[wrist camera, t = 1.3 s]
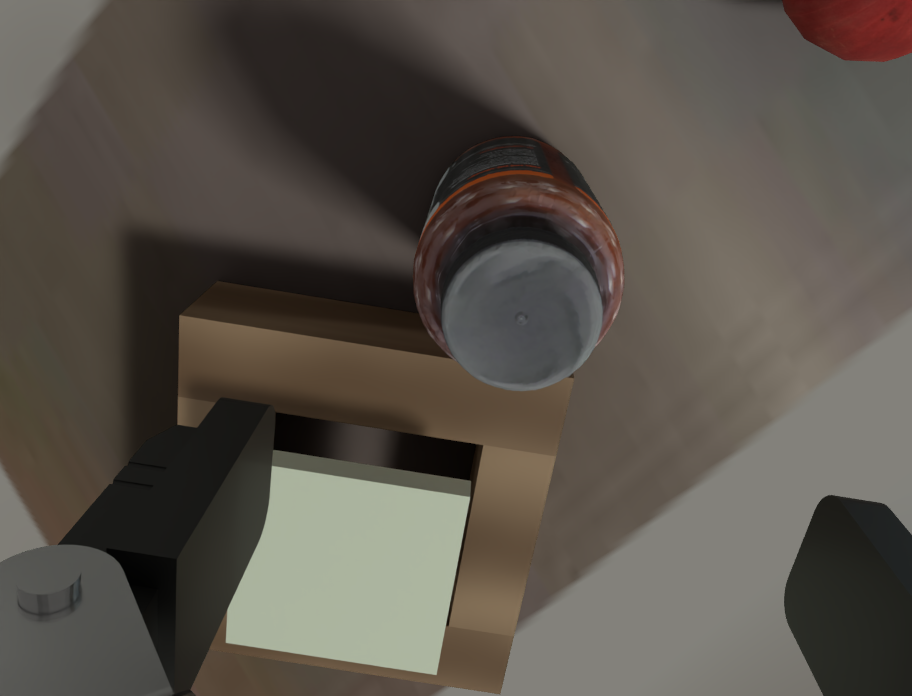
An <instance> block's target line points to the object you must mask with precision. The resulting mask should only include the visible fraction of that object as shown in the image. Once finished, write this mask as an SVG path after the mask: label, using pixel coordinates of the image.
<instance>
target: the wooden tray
mask: <svg viewBox="0 0 912 696" xmlns="http://www.w3.org/2000/svg"><path fill="white" fill-rule="evenodd" d="M573 382H574V375H573V373H572V374H571V375H570V376H569V377H567V378H564V379H562V380H561V381H559V382H557V383H555V384H552V385H550V386H548V387H544V388H542V389H537V390H529V391H512V390H505V389H502V388H497V387H494V386H491V385H488V384H485V383H483V382H482V381H480V380H478V379H476V378H474V377H473V376H472V375H471V374H469V373H468V372H467V371H466V370H465V369H464V368H463V367H462V366H461V365H460V364H459V363H458V362H456V361H455V360H453V359H452V358H451V357H450V356H448V355H447V354H446V353H445V352H444V351H443V350H442V349H441V347H440V346H439V345H438V344H437V343H436V342H435V341H434V339H433V338H432V337H431V336H430V335H429V334H428V332H427V329H426V328H425V326H424V324H423V323H422V319H421V317H420V314H419V313H413V312H407V311H400V310H394V309H388V308H382V307H375V306H369V305H363V304H357V303H351V302H344V301H338V300H332V299H326V298H320V297H313V296H307V295H301V294H295V293H289V292H282V291H276V290H270V289H264V288H257V287H251V286H245V285H239V284H233V283H226V282H220V281H217V282H216V283H215V284H214V285H212V286H211V287H210V288H209V289H208V290H207V291H206V292H205V293H204V294H202V295H201V296H200V297H199V298H198V299H197V300H196V301H195V302H194V303H192V304H191V305H190V306H189V307H188V308H187V309H186V310H185V311H184V312H182V313H181V314H180V315H179V368H178V425H183V426H189V427H195V428H197V427H198V426H199V424H200V423H201V422H202V421H203V419H204V418H205V417H206V415H207V414H208V413H209V411H210V410H211V409H212V407H213V406H214V405H215V403H216V402H217V401H218V400H219V399H220V398H221V397H225V398H231V399H238V400H244V401H250V402H256V403H263V404H269V405H273V406H274V409H275V421H276V412H278V413H284V414H291V415H297V416H303V417H310V418H316V419H322V420H328V421H335V422H341V423H347V424H354V425H360V426H366V427H373V428H379V429H385V430H392V431H398V432H404V433H410V434H417V435H423V436H429V437H436V438H442V439H448V440H455V441H461V442H467V443H474V444H476V447H475V452H474V458H473V463H472V468H471V474H470V479H469V481H471V492H470V501H469V506H468V511H467V517H466V522H465V527H464V532H463V538H462V543H461V548H460V553H459V559H458V564H457V569H456V575H455V580H454V585H453V590H452V596H451V601H450V606H449V611H448V617H447V622H446V627H445V632H444V638H443V643H442V648H441V654H440V659H439V664H438V669H437V675H432V674H426V673H419V672H413V671H406V670H400V669H393V668H387V667H380V666H374V665H367V664H361V663H354V662H348V661H341V660H335V659H328V658H322V657H315V656H309V655H302V654H296V653H289V652H283V651H276V650H270V649H263V648H257V647H250V646H244V645H237V644H231V643H226V628H227V612H226V614H225V616H224V618H223V620H222V622H221V624H220V627H219V629H218V631H217V633H216V635H215V637H214V640H213V642H212V644H211V646H210V648H209V650H215V651H222V652H228V653H235V654H241V655H248V656H254V657H261V658H267V659H274V660H280V661H287V662H293V663H300V664H306V665H313V666H319V667H326V668H332V669H339V670H345V671H352V672H358V673H365V674H371V675H378V676H385V677H391V678H398V679H404V680H411V681H417V682H424V683H430V684H437V685H443V686H450V687H456V688H463V689H469V690H476V691H482V692H489V693H495V694H500V693H501V688H502V684H503V680H504V676H505V671H506V667H507V663H508V659H509V654H510V650H511V646H512V642H513V637H514V633H515V629H516V625H517V620H518V616H519V612H520V608H521V603H522V599H523V595H524V591H525V586H526V582H527V578H528V574H529V569H530V565H531V561H532V557H533V552H534V548H535V544H536V540H537V535H538V531H539V527H540V522H541V518H542V514H543V510H544V505H545V501H546V497H547V493H548V488H549V484H550V480H551V476H552V471H553V467H554V463H555V459H556V454H557V450H558V446H559V442H560V437H561V433H562V429H563V425H564V420H565V416H566V412H567V408H568V403H569V399H570V395H571V390H572V386H573ZM274 435H275V430H274ZM273 449H274V444H273Z"/></svg>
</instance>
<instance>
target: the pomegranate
mask: <svg viewBox="0 0 912 696" xmlns="http://www.w3.org/2000/svg"><path fill="white" fill-rule="evenodd" d="M782 1H783V6H784V10H785V12H786V14H787V15H788V16H789V18H790V19H791V21H792V22H793V23H794V25H795V26H796V27H797V29H798V30H799V32H800V33H801V34H802V36H803V37H804V39H806V40H808V41H809V42H811V43H813V44H815V45H817V46H819V47H821V48H823V49H824V50H826V51H828V52H830V53H832V54H834V55H836V56H838V57H839V58H841V59H843V60H852V61H879V62H885V61H888V60H892V59H896V58H899V57H901V56H904V55H906V54H909V53H912V0H782Z"/></svg>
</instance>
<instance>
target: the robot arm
mask: <svg viewBox="0 0 912 696" xmlns="http://www.w3.org/2000/svg"><path fill="white" fill-rule="evenodd" d="M274 430H275V409H274V406H273V405H269V404H263V403H256V402H250V401H244V400H238V399H231V398H225V397H221V398H220V399H219V400H218V401H217V402H216V403H215V405H214V406H213V407H212V409H211V410H210V411H209V413H208V414H207V415H206V417H205V418H204V419H203V421H202V422H201V423H200V424H199V426H198V427H197V428H195V427H189V426H183V425H175V426H173V427H171V428H170V429H168V430H166V431H164V432H162V433H160V434H158V435H156V436H154V437H152V438H150V439H149V440H147V441H146V442H145V443H144V444H143V445H142V447H141V448H140V449H139V450H138V451H137V452H136V454H135V455H134V456H133V457H132V458H131V459H130V461H129V464H128V466H125V467H124V468H123V469H122V470H121V471H120V472H119V474H118V475H117V476H116V477H115V478H114V480H113V484H109V485H108V486H107V488H106V489H105V490H104V491H103V492H102V493H101V495H100V496H99V497H98V498H97V499H96V500H95V502H94V503H93V504H92V505H91V506H90V508H89V509H88V510H87V511H86V512H85V513H84V515H83V516H82V517H81V518H80V519H79V520H78V522H77V523H76V524H75V525H74V526H73V527H72V529H71V530H70V531H69V532H68V533H67V534H66V536H65V537H64V538H63V539H62V540H61V541H60V543H59V544H58V545H53V546H46V547H40V548H36V549H33V550H29V551H25V552H22V553H20V554H17V555H15V556H12V557H10V558H8V559H6V560H4V561H2V562H0V696H196V695H195V694H194V693H193V692H192V691H191V690H190V689H191V687H192V685H193V683H194V681H195V678H196V676H197V674H198V672H199V670H200V668H201V665H202V663H203V661H204V659H205V657H206V655H207V653H208V650H209V648H210V646H211V644H212V642H213V640H214V637H215V635H216V633H217V631H218V629H219V627H220V624H221V622H222V620H223V618H224V616H225V614H226V612H227V609H228V607H229V605H230V603H231V601H232V599H233V596H234V594H235V592H236V590H237V588H238V586H239V583H240V581H241V579H242V577H243V575H244V573H245V571H246V568H247V566H248V564H249V562H250V560H251V558H252V555H253V553H254V551H255V549H256V547H257V545H258V542H259V540H260V538H261V535H262V532H263V529H264V525H265V521H266V517H267V512H268V506H269V498H270V485H271V471H272V458H273V444H274ZM784 606H785V614H786V619H787V622H788V625H789V627H790V629H791V631H792V633H793V635H794V637H795V639H796V641H797V643H798V645H799V647H800V649H801V651H802V653H803V655H804V657H805V659H806V661H807V663H808V665H809V667H810V669H811V671H812V673H813V675H814V677H815V679H816V681H817V683H818V685H819V687H820V689H821V692H822V693H823V696H912V535H911V534H910V532H909V531H908V530H907V529H906V528H905V526H904V525H903V524H902V523H901V522H900V521H899V519H898V518H897V517H896V516H895V514H894V513H893V512H892V511H891V510H890V509H889V508H888V507H887V506H886V505H885V504H882V503H877V502H871V501H865V500H859V499H852V498H846V497H840V496H833V495H828V496H826V497H824V498H823V499H822V500H821V501H820V502H819V504H818V505H817V507H816V509H815V511H814V514H813V516H812V519H811V522H810V524H809V526H808V529H807V532H806V534H805V537H804V539H803V542H802V544H801V547H800V549H799V552H798V554H797V557H796V559H795V562H794V565H793V567H792V569H791V572H790V575H789V577H788V580H787V583H786V588H785V596H784Z"/></svg>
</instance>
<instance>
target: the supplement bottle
mask: <svg viewBox="0 0 912 696" xmlns="http://www.w3.org/2000/svg"><path fill="white" fill-rule="evenodd" d="M413 286H414V290H413V291H414V297H415V302H416V305H417V309H418V312H419V314H420V317H421V319H422V323H423V324H424V326H425V328H426V329H427V332H428V334H429V335H430V336H431V337H432V338H433V339H434V341H435V342H436V343H437V344H438V345H439V346H440V347H441V349H442V350H443V351H444V352H445V353H446V354H447V355H448V356H450V357H451V358H452V359H453V360H455V361H456V362H458V363H459V364H460V365H461V366H462V367H463V368H464V369H465V370H466V371H467V372H468V373H469V374H471V375H472V376H473V377H474V378H476V379H478V380H480V381H482V382H483V383H485V384H488V385H491V386H494V387H497V388H502V389H505V390H512V391H529V390H537V389H542V388H544V387H548V386H550V385H552V384H555V383H557V382H559V381H561V380H562V379H564V378H567V377H569V376H570V375H571V374H572V373H573V372H574V371H575V370H577V369H578V368H579V367H580V366H581V365H582V364H583V363H584V362H585V361H586V360H587V359H588V357H589V355H590V354H591V352H592V351H593V349H594V348H595V346H596V345H597V344H598V343H599V342H600V341H601V340H602V338H603V337H604V336H605V334H606V333H607V331H608V329H609V328H610V326H611V325H612V323H613V321H614V319H615V317H616V315H617V313H618V310H619V307H620V304H621V299H622V295H623V289H624V264H623V257H622V252H621V248H620V244H619V241H618V238H617V235H616V233H615V231H614V229H613V227H612V225H611V223H610V221H609V219H608V218H607V216H606V214H605V213H604V211H603V209H602V207H601V206H600V204H599V202H598V201H597V199H596V197H595V195H594V194H593V192H592V191H591V189H590V187H589V186H588V184H587V183H586V181H585V179H584V177H583V176H582V174H581V173H580V171H579V170H578V169H577V168H576V166H575V165H574V164H573V163H572V162H571V161H570V160H569V159H568V158H567V157H565V156H564V155H563V154H562V153H561V152H560V151H558V150H556V149H555V148H553V147H552V146H550V145H548V144H546V143H543V142H541V141H538V140H536V139H533V138H528V137H521V136H508V137H499V138H494V139H490V140H487V141H484V142H482V143H480V144H477V145H475V146H473V147H471V148H470V149H468V150H467V151H465V152H464V153H463V154H462V155H460V156H459V157H458V158H457V159H456V160H455V161H454V163H453V164H452V165H451V166H450V167H449V168H448V170H447V171H446V172H445V174H444V175H443V177H442V179H441V180H440V182H439V184H438V187H437V189H436V191H435V194H434V197H433V200H432V203H431V206H430V209H429V212H428V215H427V219H426V222H425V225H424V227H423V230H422V234H421V237H420V241H419V244H418V247H417V251H416V254H415V258H414V268H413Z"/></svg>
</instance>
